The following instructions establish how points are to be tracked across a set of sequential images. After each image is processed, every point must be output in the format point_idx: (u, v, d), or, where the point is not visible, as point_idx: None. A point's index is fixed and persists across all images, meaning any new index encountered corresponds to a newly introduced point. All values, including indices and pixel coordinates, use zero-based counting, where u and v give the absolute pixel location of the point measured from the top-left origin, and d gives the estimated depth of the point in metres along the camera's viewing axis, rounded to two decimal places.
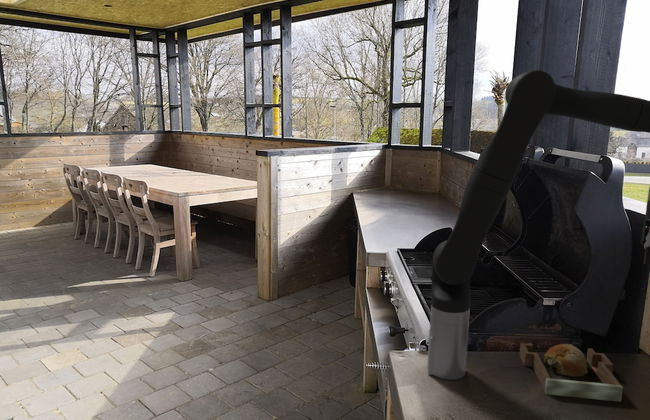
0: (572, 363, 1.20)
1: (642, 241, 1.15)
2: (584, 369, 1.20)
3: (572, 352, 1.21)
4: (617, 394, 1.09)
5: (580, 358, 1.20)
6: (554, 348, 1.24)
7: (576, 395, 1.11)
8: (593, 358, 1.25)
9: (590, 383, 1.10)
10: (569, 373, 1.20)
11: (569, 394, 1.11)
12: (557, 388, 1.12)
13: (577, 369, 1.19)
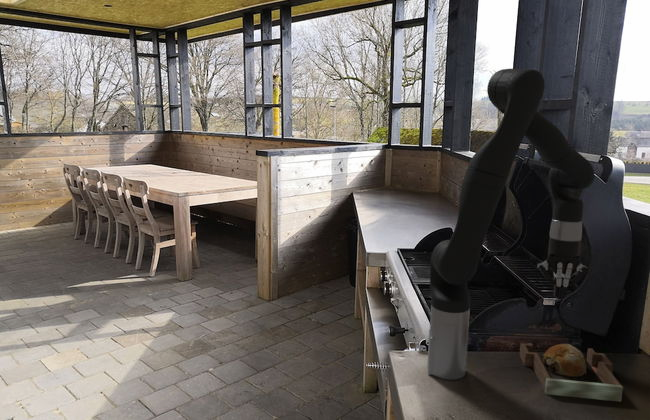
0: (571, 363, 1.20)
1: (552, 280, 1.30)
2: (583, 369, 1.20)
3: (571, 352, 1.21)
4: (617, 394, 1.09)
5: (579, 358, 1.20)
6: (553, 348, 1.24)
7: (576, 395, 1.11)
8: (593, 358, 1.25)
9: (590, 383, 1.10)
10: (568, 373, 1.20)
11: (569, 394, 1.11)
12: (557, 388, 1.12)
13: (576, 369, 1.19)
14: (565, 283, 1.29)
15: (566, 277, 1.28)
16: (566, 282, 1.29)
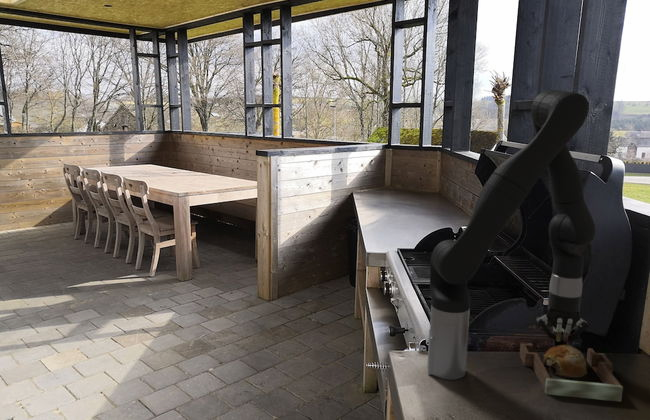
0: (571, 364, 1.19)
1: (552, 335, 1.28)
2: (583, 370, 1.19)
3: (571, 353, 1.21)
4: (617, 394, 1.09)
5: (579, 359, 1.20)
6: (553, 349, 1.24)
7: (576, 395, 1.11)
8: (593, 358, 1.25)
9: (590, 383, 1.10)
10: (568, 374, 1.19)
11: (569, 394, 1.11)
12: (557, 388, 1.12)
13: (576, 370, 1.19)
14: (565, 338, 1.27)
15: (566, 332, 1.26)
16: (566, 337, 1.27)
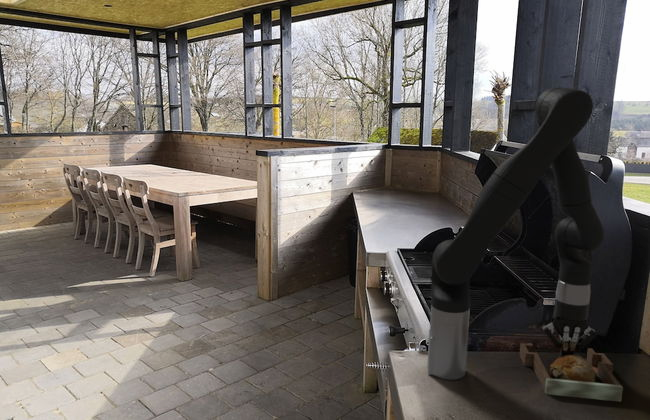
0: (578, 375, 1.14)
1: (558, 344, 1.22)
2: None
3: (579, 364, 1.15)
4: (617, 394, 1.09)
5: (587, 370, 1.14)
6: (561, 359, 1.19)
7: (576, 395, 1.11)
8: (593, 358, 1.25)
9: (590, 383, 1.10)
10: None
11: (569, 394, 1.11)
12: (557, 388, 1.12)
13: (583, 381, 1.13)
14: (572, 347, 1.22)
15: (573, 341, 1.21)
16: (573, 346, 1.22)
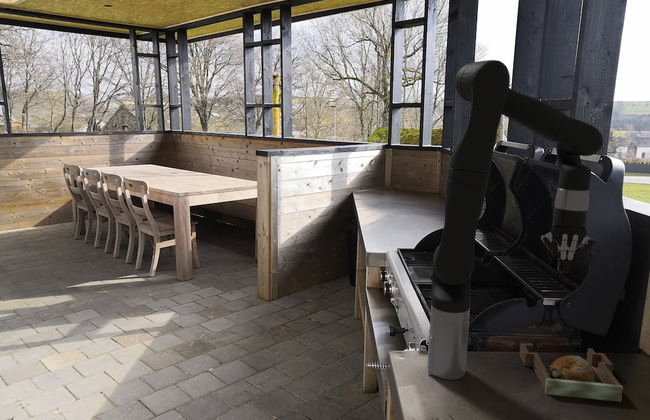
0: (577, 376, 1.13)
1: (556, 253, 1.23)
2: None
3: (578, 365, 1.15)
4: (617, 394, 1.09)
5: (587, 371, 1.14)
6: (560, 359, 1.18)
7: (576, 395, 1.11)
8: (593, 358, 1.25)
9: (590, 383, 1.10)
10: None
11: (569, 394, 1.11)
12: (557, 388, 1.12)
13: None
14: (570, 256, 1.23)
15: (571, 249, 1.22)
16: (571, 255, 1.23)
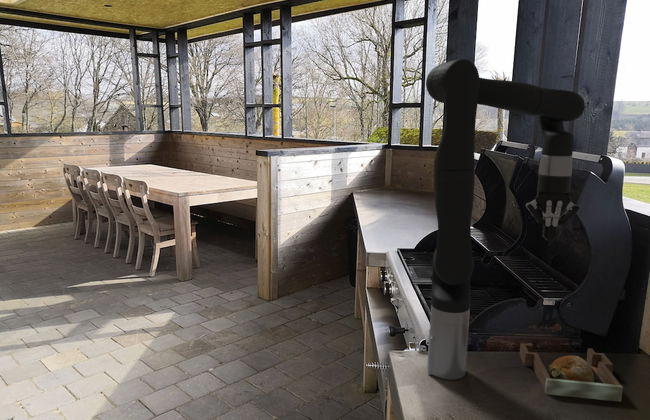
0: (577, 376, 1.13)
1: (541, 220, 1.24)
2: None
3: (578, 365, 1.15)
4: (617, 394, 1.09)
5: (586, 371, 1.14)
6: (559, 359, 1.18)
7: (576, 395, 1.11)
8: (593, 358, 1.25)
9: (590, 383, 1.10)
10: None
11: (569, 394, 1.11)
12: (557, 388, 1.12)
13: None
14: (554, 222, 1.24)
15: (555, 216, 1.23)
16: (555, 221, 1.24)
